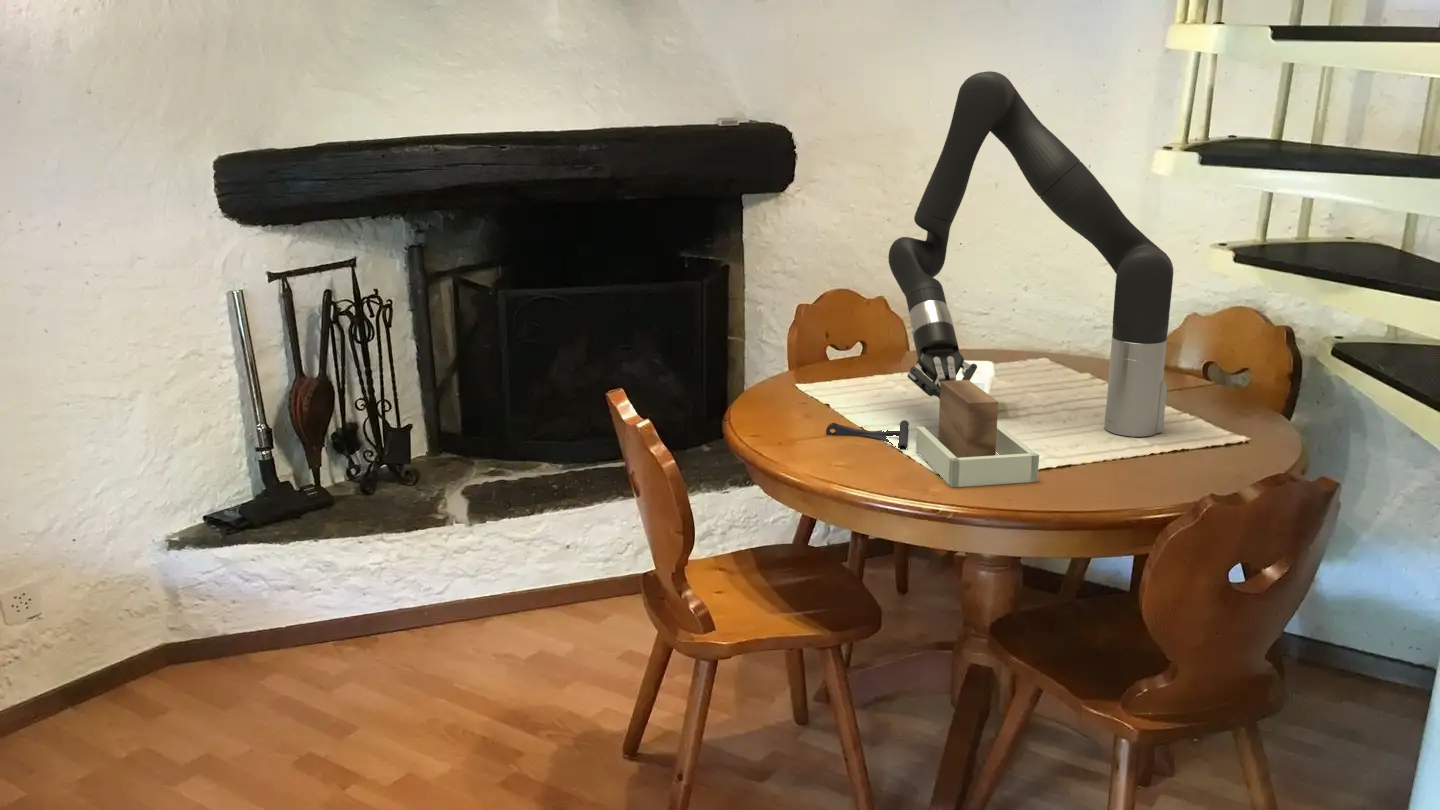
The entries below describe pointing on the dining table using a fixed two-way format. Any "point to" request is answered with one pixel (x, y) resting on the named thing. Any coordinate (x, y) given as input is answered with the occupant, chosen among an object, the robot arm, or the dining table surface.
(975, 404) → the walnut board
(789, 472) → the dining table surface
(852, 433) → the dark grey t-shaped piece
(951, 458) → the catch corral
